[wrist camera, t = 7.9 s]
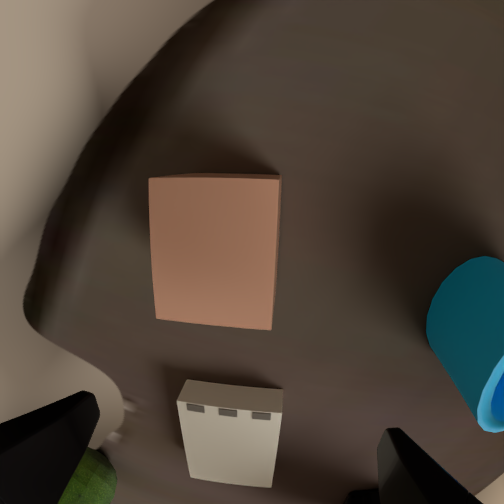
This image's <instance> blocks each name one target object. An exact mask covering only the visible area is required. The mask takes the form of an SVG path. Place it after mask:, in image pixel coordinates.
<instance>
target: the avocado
mask: <svg viewBox="0 0 504 504" xmlns="http://www.w3.org/2000/svg"><path fill="white" fill-rule="evenodd" d="M116 484H117V476H116V471H115V469H114V467H113V466H112V464H111V463H110V462H109V460H108V459H107V458H106V457H105V456H104V455H102V454H101V453H99V452H98V451H96V450H94V449H91V448H89V447H87V449H86V451H85V453H84V455H83V457H82V459H81V461H80V463H79V464H78V466H77V468H76V470H75V472H74V474H73V476H72V477H71V479H70V481H69V483H68V485H67V487H66V489H65V491H64V493H63V494H62V496H61V498H60V500H59V502H58V504H110V502H111V501H112V499H113V498H114V494H115V489H116Z"/></svg>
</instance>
